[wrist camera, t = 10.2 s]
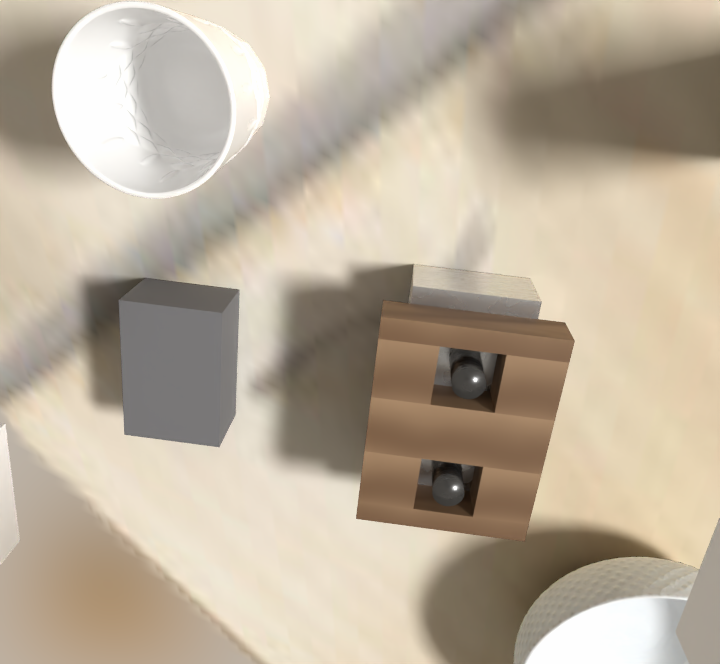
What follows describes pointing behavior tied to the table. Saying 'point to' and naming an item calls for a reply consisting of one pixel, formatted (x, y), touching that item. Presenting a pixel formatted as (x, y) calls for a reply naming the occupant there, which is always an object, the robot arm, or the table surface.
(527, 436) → the board
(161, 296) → the riser
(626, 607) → the cereal bowl
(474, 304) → the chassis
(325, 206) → the table surface
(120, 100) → the white cup
